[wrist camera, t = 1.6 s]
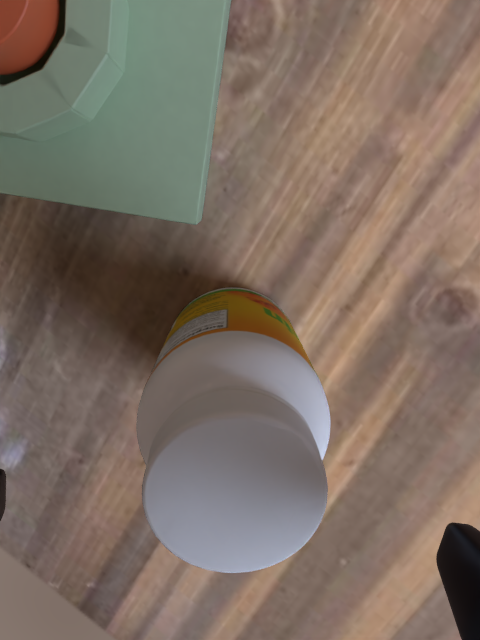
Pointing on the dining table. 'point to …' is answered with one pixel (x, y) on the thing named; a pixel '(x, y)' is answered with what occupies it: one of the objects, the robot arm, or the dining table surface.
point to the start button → (26, 32)
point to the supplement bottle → (233, 436)
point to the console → (118, 108)
